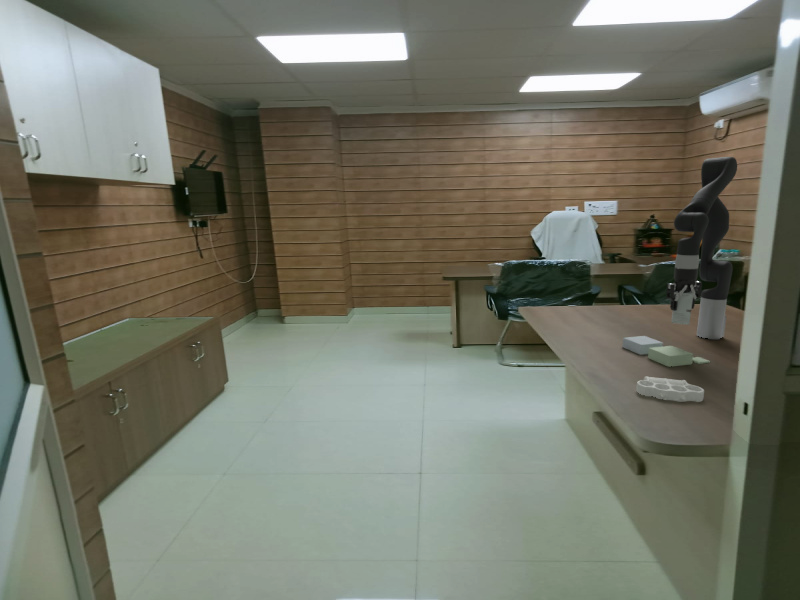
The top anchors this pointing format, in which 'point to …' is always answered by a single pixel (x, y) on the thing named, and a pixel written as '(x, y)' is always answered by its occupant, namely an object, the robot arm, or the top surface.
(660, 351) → the sage riser block
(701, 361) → the sage tile
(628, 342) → the blue-grey riser block
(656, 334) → the top surface
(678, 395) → the white brass knuckles
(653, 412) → the top surface
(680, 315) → the skincare box
